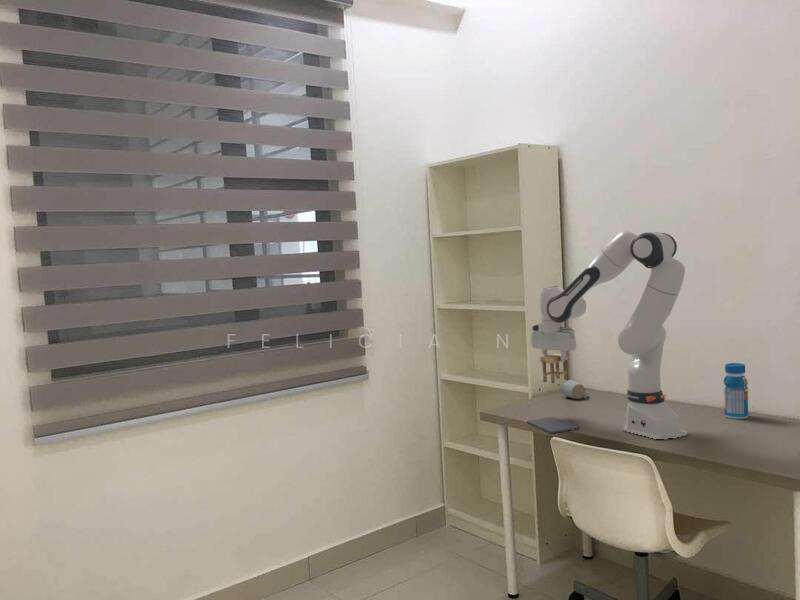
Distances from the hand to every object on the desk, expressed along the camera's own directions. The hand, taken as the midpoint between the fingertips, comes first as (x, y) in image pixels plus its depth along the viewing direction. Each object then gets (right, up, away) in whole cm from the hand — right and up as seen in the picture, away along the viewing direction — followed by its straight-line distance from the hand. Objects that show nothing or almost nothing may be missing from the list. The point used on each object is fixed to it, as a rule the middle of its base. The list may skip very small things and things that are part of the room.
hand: (554, 360), depth 259 cm
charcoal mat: (-4, -24, -13) cm, 27 cm away
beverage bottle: (+65, -20, -16) cm, 70 cm away
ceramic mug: (+17, -20, +31) cm, 41 cm away
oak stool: (+1, -8, 0) cm, 8 cm away
